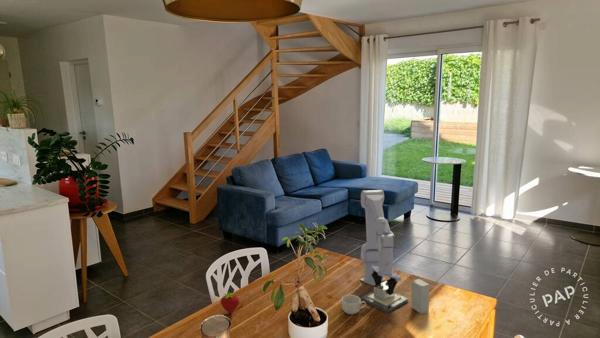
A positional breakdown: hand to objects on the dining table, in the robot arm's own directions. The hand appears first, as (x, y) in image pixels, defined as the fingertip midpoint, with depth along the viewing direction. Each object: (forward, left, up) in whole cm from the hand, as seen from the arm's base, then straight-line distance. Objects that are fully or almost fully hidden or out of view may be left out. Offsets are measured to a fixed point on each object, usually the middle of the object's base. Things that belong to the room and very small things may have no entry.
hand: (384, 291), depth 166 cm
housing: (0, 0, -2) cm, 2 cm away
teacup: (+16, -3, -5) cm, 17 cm away
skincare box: (-5, +14, -5) cm, 16 cm away
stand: (0, 0, -4) cm, 4 cm away
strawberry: (+55, -35, -5) cm, 65 cm away
